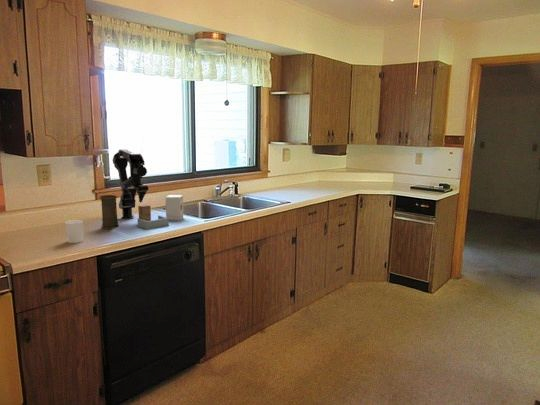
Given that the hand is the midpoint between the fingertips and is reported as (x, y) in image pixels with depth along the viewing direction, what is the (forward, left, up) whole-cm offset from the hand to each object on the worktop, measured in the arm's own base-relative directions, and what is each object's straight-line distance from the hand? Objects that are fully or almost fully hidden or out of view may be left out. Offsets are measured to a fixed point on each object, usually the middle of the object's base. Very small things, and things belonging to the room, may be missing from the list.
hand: (136, 201), depth 238 cm
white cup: (+38, -23, -13) cm, 46 cm away
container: (+11, -13, -13) cm, 22 cm away
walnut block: (+4, +5, -13) cm, 14 cm away
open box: (+12, +11, -13) cm, 21 cm away
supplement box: (-6, +21, -13) cm, 26 cm away
